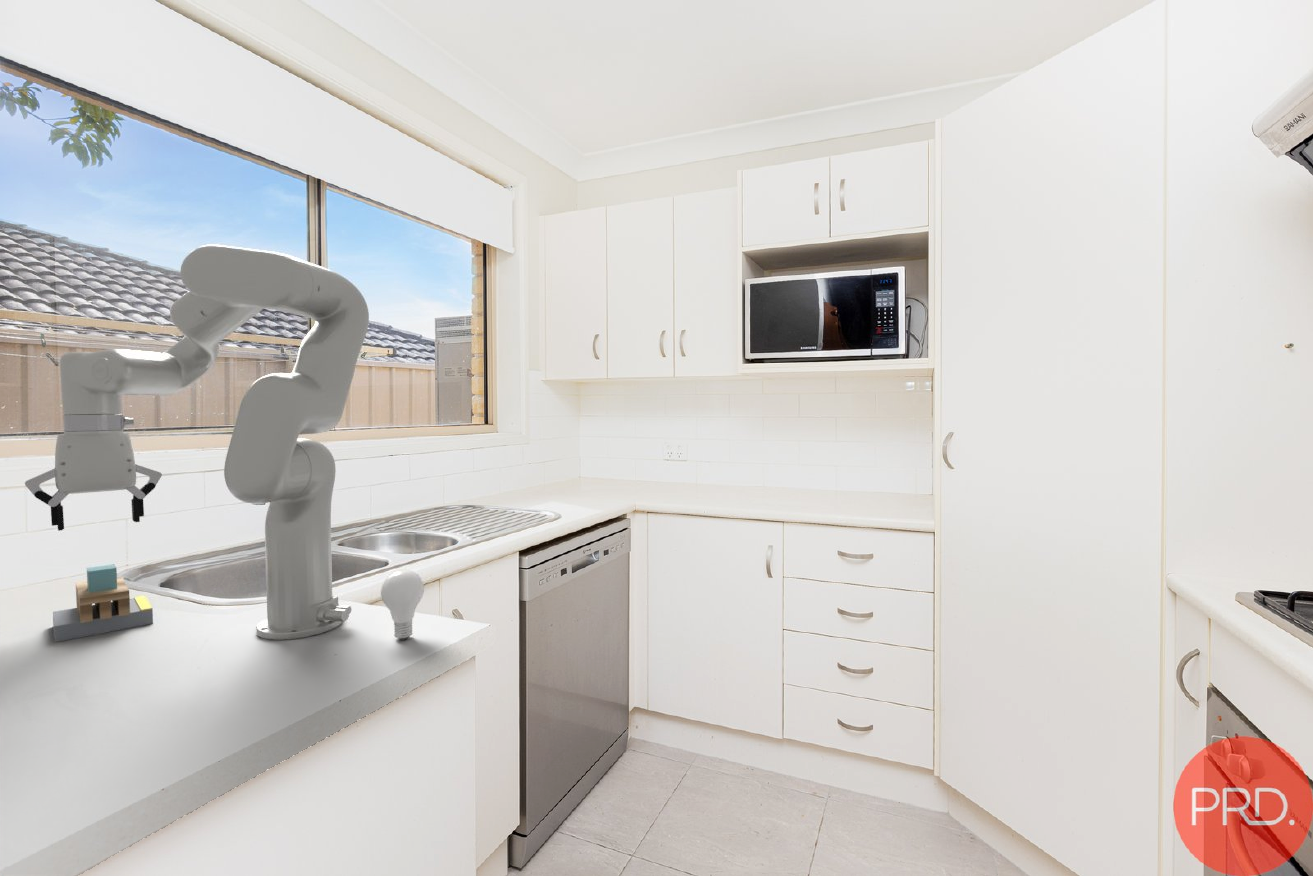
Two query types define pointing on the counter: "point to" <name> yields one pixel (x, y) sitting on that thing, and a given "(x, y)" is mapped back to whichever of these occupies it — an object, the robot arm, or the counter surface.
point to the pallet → (102, 601)
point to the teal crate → (102, 578)
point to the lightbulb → (402, 599)
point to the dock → (71, 626)
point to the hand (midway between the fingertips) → (99, 525)
